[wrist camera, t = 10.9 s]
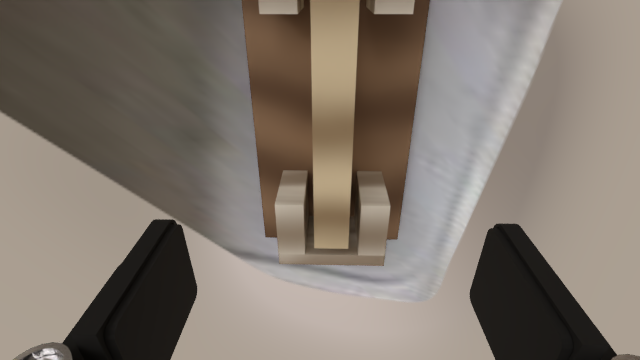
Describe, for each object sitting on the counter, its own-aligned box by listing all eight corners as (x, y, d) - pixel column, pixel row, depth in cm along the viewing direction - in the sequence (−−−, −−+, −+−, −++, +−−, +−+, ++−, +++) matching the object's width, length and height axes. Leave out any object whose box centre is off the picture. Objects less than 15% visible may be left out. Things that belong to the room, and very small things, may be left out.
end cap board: (233, -129, 20) (198, -167, 15) (442, -132, 20) (482, -171, 15) (267, 229, 33) (255, 277, 28) (395, 231, 33) (407, 280, 28)
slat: (314, -49, 21) (309, -56, 16) (354, -49, 21) (362, -57, 16) (317, 201, 30) (314, 248, 25) (345, 201, 30) (348, 248, 25)
